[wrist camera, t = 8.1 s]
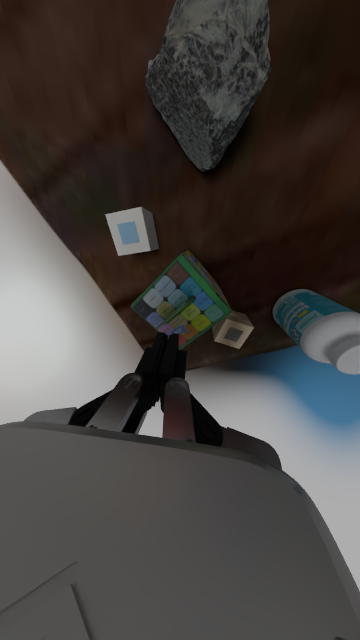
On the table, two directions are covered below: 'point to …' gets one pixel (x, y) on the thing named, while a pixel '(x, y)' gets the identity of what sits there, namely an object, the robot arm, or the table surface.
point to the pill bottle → (321, 328)
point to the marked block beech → (232, 329)
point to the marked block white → (133, 231)
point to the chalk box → (183, 300)
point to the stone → (210, 73)
